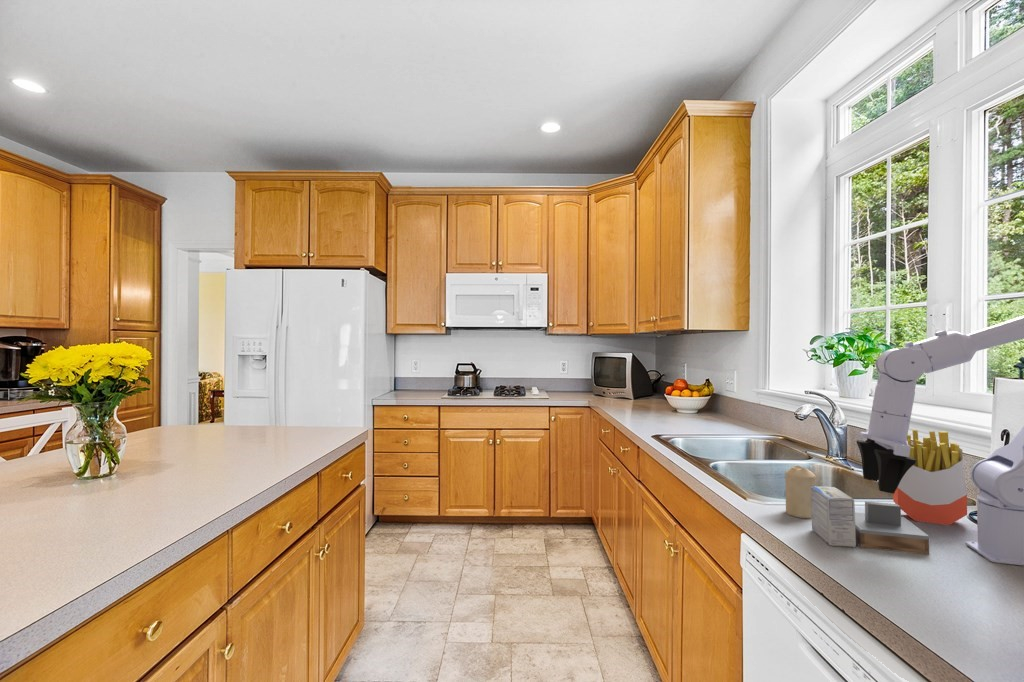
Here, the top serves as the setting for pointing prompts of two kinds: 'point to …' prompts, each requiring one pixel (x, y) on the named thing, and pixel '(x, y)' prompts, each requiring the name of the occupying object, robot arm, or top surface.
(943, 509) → the french fries container
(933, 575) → the top surface
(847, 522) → the medicine box
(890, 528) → the lid
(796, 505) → the candle
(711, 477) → the top surface
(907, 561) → the top surface
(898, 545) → the box
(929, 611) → the top surface
